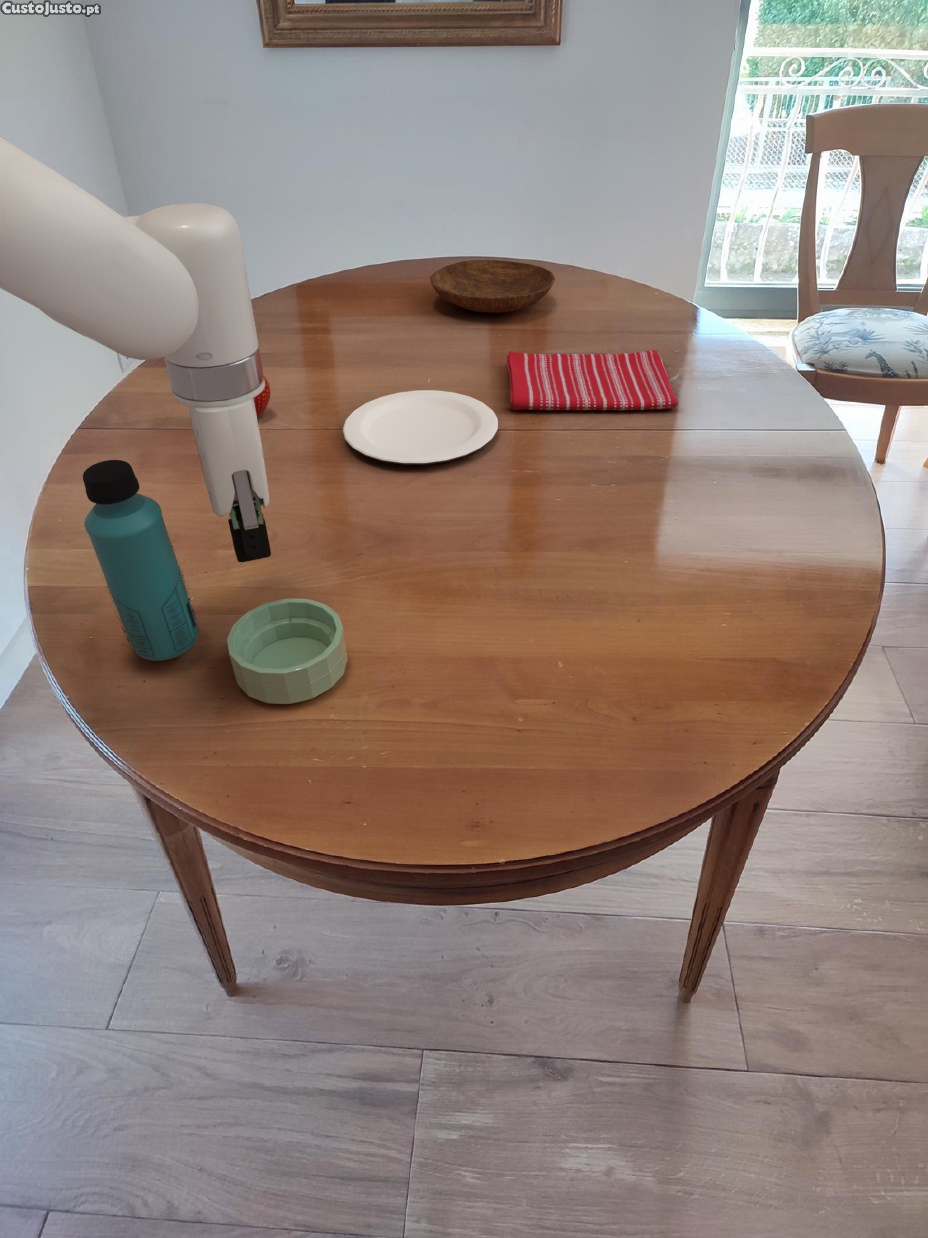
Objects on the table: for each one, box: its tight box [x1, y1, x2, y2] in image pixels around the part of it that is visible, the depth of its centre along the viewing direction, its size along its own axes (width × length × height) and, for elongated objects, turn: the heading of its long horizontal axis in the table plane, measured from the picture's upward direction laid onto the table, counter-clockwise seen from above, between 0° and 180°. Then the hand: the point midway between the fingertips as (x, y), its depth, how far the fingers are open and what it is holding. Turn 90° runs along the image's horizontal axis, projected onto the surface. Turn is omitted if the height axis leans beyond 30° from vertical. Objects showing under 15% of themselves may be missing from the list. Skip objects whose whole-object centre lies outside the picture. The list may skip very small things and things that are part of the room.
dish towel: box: [506, 349, 679, 411], centre depth 122 cm, size 17×24×3 cm
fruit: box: [253, 375, 271, 418], centre depth 116 cm, size 5×5×8 cm
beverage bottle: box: [82, 459, 200, 662], centre depth 74 cm, size 6×7×20 cm
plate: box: [342, 389, 499, 466], centre depth 113 cm, size 21×21×2 cm
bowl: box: [429, 259, 556, 314], centre depth 148 cm, size 20×22×5 cm
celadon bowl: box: [226, 597, 349, 705], centre depth 77 cm, size 10×10×4 cm
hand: (253, 555), depth 81 cm, fingers closed
